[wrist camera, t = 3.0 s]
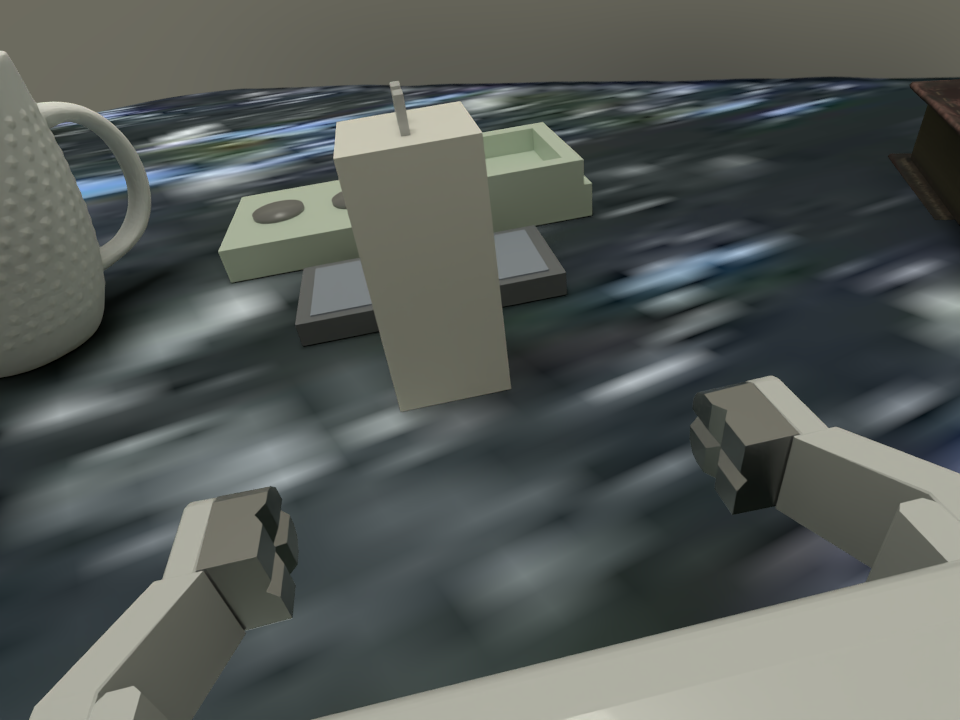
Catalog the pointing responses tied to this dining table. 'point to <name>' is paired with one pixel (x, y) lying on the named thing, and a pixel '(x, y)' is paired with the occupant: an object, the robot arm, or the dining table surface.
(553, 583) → the dining table surface
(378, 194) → the charger
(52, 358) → the mug
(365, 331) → the phone
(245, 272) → the green desk organizer
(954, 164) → the diary
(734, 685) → the robot arm
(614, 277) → the dining table surface
